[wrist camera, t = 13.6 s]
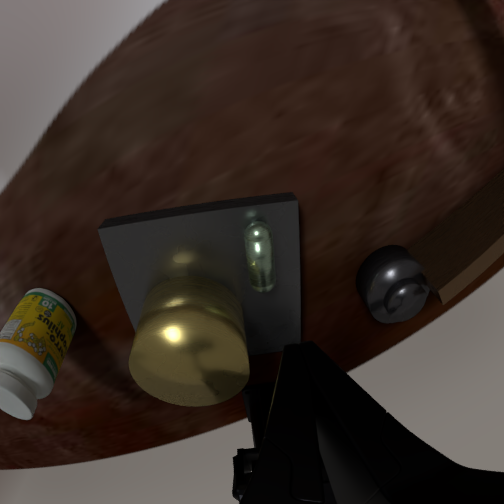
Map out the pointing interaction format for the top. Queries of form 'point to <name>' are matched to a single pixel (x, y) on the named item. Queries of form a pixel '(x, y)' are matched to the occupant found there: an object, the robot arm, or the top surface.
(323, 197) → the top surface
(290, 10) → the top surface
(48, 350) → the supplement bottle
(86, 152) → the top surface
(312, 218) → the top surface
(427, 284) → the brown bar with knob
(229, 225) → the plate
